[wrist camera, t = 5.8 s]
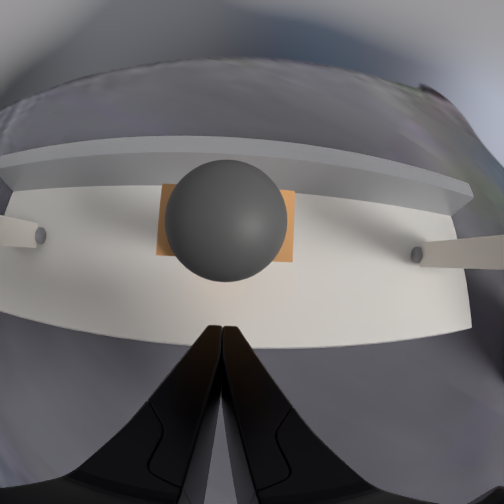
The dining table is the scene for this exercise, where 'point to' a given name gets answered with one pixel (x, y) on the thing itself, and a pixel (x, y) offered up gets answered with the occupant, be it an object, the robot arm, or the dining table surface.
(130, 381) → the dining table surface
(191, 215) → the lever orange
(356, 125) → the dining table surface
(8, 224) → the cream lever
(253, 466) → the robot arm
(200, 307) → the switch panel
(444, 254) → the cream lever
